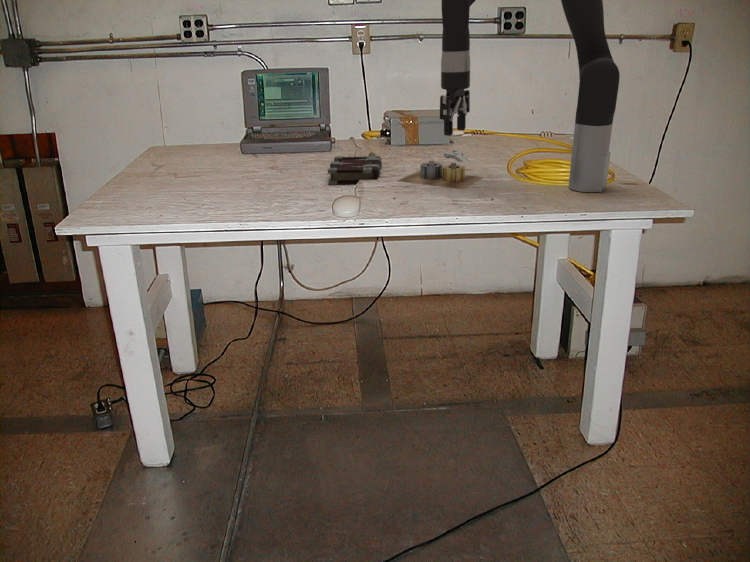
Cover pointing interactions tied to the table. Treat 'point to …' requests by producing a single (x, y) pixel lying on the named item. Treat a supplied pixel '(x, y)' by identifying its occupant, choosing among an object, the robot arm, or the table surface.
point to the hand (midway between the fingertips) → (454, 132)
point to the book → (354, 169)
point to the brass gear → (453, 173)
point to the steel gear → (431, 171)
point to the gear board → (439, 182)
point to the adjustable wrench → (456, 156)
